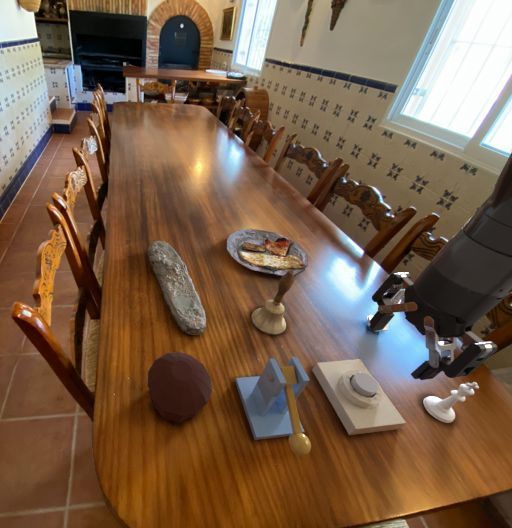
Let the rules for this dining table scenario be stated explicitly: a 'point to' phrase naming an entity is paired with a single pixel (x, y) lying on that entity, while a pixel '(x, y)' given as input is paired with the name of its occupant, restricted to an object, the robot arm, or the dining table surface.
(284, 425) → the lever bracket
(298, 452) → the flush lever
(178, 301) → the long grey stone
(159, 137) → the dining table surface
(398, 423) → the dial knob panel
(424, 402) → the chess piece
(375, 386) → the grey push button
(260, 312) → the hand bell
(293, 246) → the food plate
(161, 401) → the brown rounded faceted lump
